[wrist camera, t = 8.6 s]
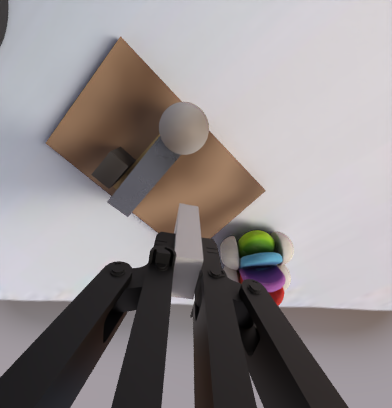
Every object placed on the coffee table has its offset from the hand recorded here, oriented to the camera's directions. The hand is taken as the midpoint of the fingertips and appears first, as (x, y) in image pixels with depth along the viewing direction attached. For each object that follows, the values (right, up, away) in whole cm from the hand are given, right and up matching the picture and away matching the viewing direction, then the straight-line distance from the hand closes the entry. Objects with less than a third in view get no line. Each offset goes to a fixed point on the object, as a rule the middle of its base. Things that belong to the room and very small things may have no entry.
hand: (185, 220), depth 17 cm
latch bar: (-4, +5, +5) cm, 8 cm away
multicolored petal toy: (+8, -5, +12) cm, 15 cm away
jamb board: (-3, +6, +6) cm, 9 cm away
